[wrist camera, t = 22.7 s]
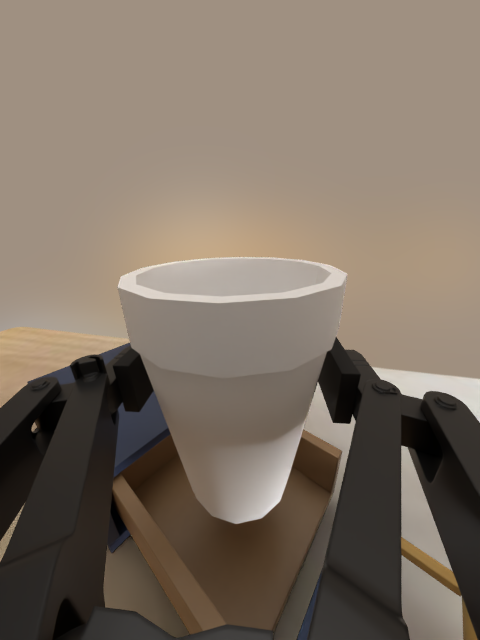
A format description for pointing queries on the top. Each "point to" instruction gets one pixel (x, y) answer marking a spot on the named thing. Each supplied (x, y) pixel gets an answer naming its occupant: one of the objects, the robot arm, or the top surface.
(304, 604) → the top surface
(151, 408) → the cabinet
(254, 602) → the drawer
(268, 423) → the foam cup
